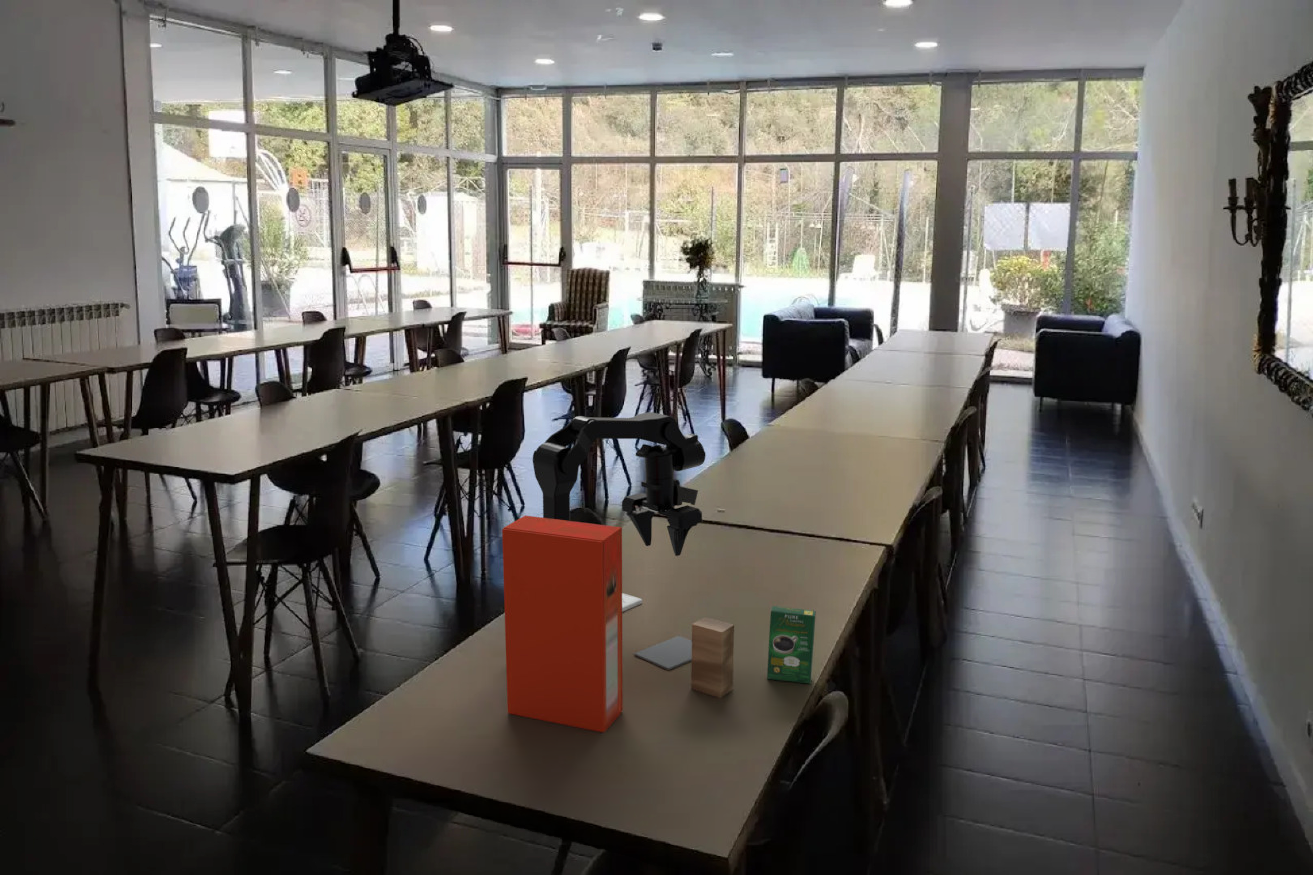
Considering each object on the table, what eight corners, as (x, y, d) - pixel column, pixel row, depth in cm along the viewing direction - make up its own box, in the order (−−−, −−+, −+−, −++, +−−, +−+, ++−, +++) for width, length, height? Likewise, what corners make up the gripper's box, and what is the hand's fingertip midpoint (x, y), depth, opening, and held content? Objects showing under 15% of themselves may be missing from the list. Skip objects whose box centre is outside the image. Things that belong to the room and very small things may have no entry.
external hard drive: (573, 613, 213) (613, 596, 222) (603, 623, 208) (642, 605, 217) (573, 606, 212) (613, 589, 222) (602, 615, 207) (642, 598, 217)
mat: (668, 670, 185) (668, 668, 185) (634, 655, 191) (634, 653, 191) (713, 651, 193) (713, 649, 193) (678, 637, 199) (678, 635, 199)
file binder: (602, 734, 162) (601, 541, 155) (506, 714, 168) (502, 528, 161) (622, 711, 169) (622, 526, 162) (530, 694, 175) (526, 514, 168)
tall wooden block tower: (720, 698, 174) (721, 632, 172) (691, 688, 177) (692, 624, 175) (732, 689, 177) (734, 624, 175) (703, 680, 181) (704, 617, 178)
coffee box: (813, 678, 182) (816, 608, 179) (812, 685, 179) (815, 614, 177) (768, 673, 184) (770, 604, 181) (766, 680, 181) (768, 610, 178)
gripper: (721, 475, 201) (723, 551, 204) (660, 461, 215) (663, 532, 218) (679, 487, 194) (682, 564, 197) (618, 471, 208) (622, 544, 211)
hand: (662, 550), depth 206 cm, fingers open, 9 cm apart
